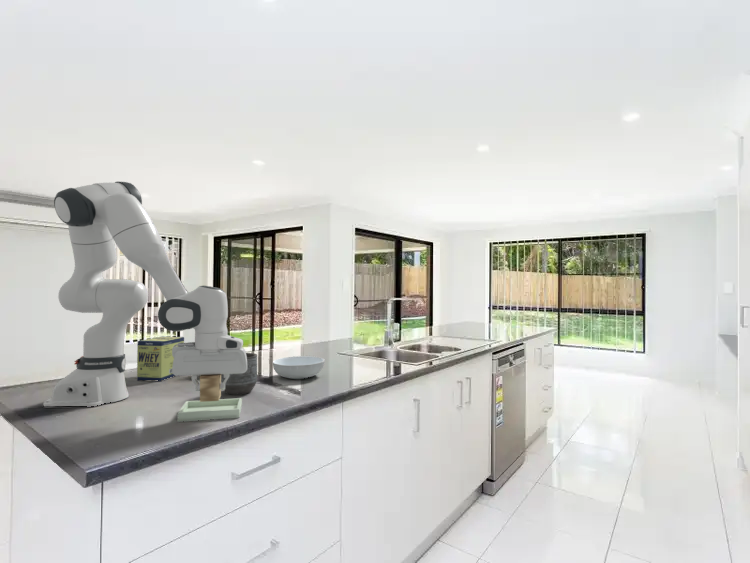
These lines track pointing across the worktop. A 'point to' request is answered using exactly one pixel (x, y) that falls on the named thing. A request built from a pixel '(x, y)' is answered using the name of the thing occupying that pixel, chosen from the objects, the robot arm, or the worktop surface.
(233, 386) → the planter
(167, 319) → the robot arm
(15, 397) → the worktop surface
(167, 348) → the protein box
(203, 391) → the box
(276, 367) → the serving bowl
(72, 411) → the worktop surface
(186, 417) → the tray
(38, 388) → the worktop surface
